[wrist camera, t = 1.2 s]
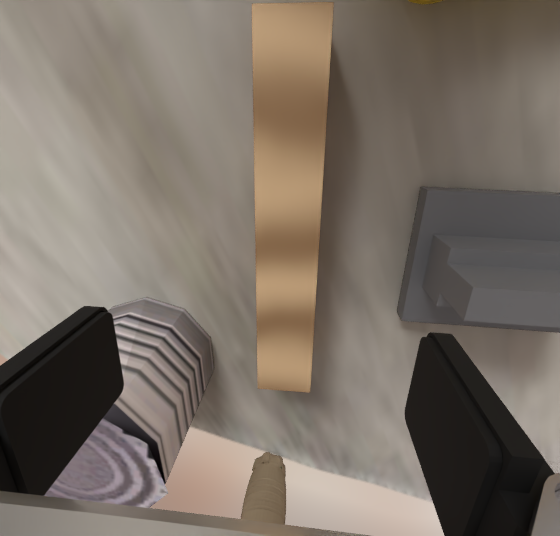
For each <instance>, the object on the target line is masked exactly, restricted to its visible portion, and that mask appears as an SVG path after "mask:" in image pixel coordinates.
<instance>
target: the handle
mask: <svg viewBox="0 0 560 536" xmlns="http://www.w3.org/2000/svg"><path fill="white" fill-rule="evenodd" d="M252 470H253V473H252V475H251V478H250V480H249V484H248V487H247V491H246V495H245V499H244V503H243V509H242V514H241V519H243V520H251V521H259V522H267V523H275V524H283V525H285V514H286V484H285V465H284V464H283V459H282V458H281V457H280V456H276V455H273V454H270V453H269V452H266V453H264V454H263V455H262V456H261V457H259V458H257V459H256V460H255V462H254V465H253V469H252Z"/></svg>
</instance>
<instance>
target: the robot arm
mask: <svg viewBox="0 0 560 536" xmlns="http://www.w3.org/2000/svg"><path fill="white" fill-rule="evenodd" d="M123 388H124V379H123V374H122V368H121V362H120V356H119V350H118V344H117V338H116V332H115V326H114V321H113V316H112V314H111V313H109V312H108V311H107V309H106V308H104V307H92V306H84V307H82V308H81V309H79V310H78V311H76V312H75V313H74V314H72V315H71V316H69V317H68V318H67V319H65V320H64V321H62V322H61V323H60V324H58V325H57V326H55V327H54V328H53V329H51V330H50V331H48V332H47V333H46V334H44V335H43V336H41V337H40V338H39V339H37V340H36V341H34V342H33V343H32V344H30V345H29V346H27V347H26V348H25V349H23V350H22V351H20V352H19V353H18V354H16V355H15V356H13V357H12V358H11V359H9V360H8V361H6V362H5V363H4V364H2V365H1V366H0V536H368V535H361V534H353V533H345V532H338V531H330V530H321V529H314V528H306V527H298V526H291V525H283V524H275V523H267V522H259V521H251V520H243V519H235V518H225V517H218V516H210V515H202V514H194V513H185V512H177V511H168V510H160V509H152V508H144V507H135V506H127V505H119V504H110V503H101V502H93V501H84V500H75V499H67V498H58V497H49V496H44V495H45V494H46V492H47V491H48V490H49V489H50V487H51V486H52V485H53V483H54V482H55V481H56V479H57V478H58V477H59V475H60V474H61V473H62V471H63V470H64V469H65V467H66V466H67V465H68V464H69V462H70V461H71V460H72V458H73V457H74V456H75V454H76V453H77V452H78V450H79V449H80V448H81V446H82V445H83V444H84V442H85V441H86V440H87V438H88V437H89V436H90V435H91V433H92V432H93V431H94V429H95V428H96V427H97V425H98V424H99V423H100V421H101V420H102V419H103V417H104V416H105V415H106V413H107V412H108V411H109V410H110V408H111V407H112V406H113V404H114V403H115V402H116V400H117V399H118V398H119V396H120V395H121V393H122V391H123ZM405 420H406V424H407V427H408V430H409V433H410V436H411V439H412V441H413V444H414V447H415V450H416V453H417V456H418V459H419V462H420V465H421V468H422V471H423V474H424V477H425V480H426V483H427V486H428V488H429V491H430V494H431V497H432V500H433V503H434V506H435V509H436V512H437V515H438V517H439V520H440V524H441V526H442V529H443V532H444V535H445V536H560V473H556V474H555V473H554V472H553V471H552V469H551V468H550V467H549V465H548V464H547V462H546V461H545V459H544V458H543V457H542V455H541V454H540V452H539V451H538V450H537V448H536V447H535V446H534V444H533V443H532V442H531V440H530V439H529V438H528V436H527V435H526V434H525V432H524V431H523V429H522V428H521V427H520V425H519V424H518V423H517V421H516V420H515V419H514V417H513V416H512V415H511V413H510V412H509V411H508V409H507V408H506V407H505V405H504V404H503V402H502V401H501V400H500V398H499V397H498V396H497V394H496V393H495V392H494V390H493V389H492V388H491V386H490V385H489V384H488V382H487V381H486V379H485V378H484V377H483V375H482V374H481V373H480V371H479V370H478V369H477V367H476V366H475V365H474V363H473V362H472V361H471V359H470V358H469V356H468V355H467V354H466V352H465V351H464V350H463V348H462V347H461V346H460V344H459V343H458V342H457V340H456V339H455V338H454V336H453V335H452V334H444V333H431V332H430V333H429V334H428V335H427V337H422V338H421V340H420V344H419V349H418V353H417V358H416V362H415V367H414V371H413V376H412V380H411V385H410V389H409V394H408V398H407V402H406V407H405Z"/></svg>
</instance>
